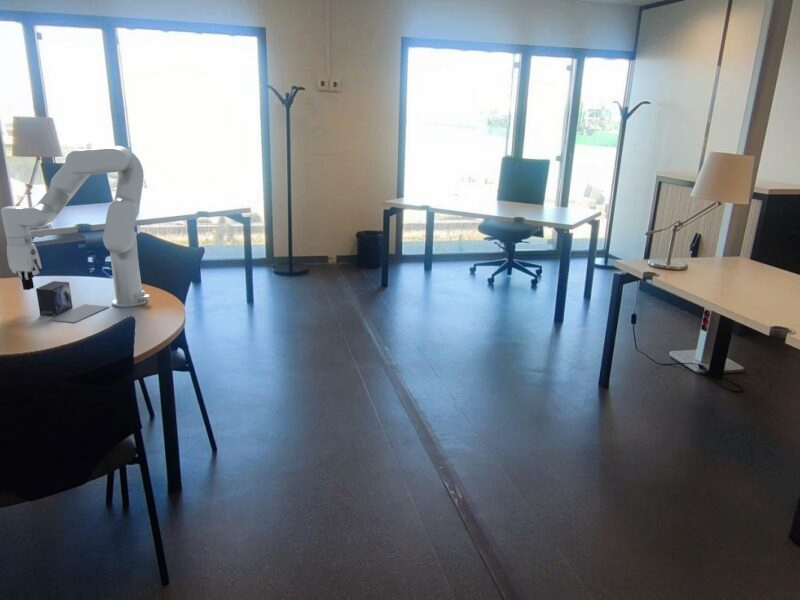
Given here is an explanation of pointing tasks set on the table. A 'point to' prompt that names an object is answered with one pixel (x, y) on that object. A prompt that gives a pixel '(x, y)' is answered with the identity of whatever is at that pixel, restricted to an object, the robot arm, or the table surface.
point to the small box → (54, 298)
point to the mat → (79, 313)
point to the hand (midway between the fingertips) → (28, 288)
